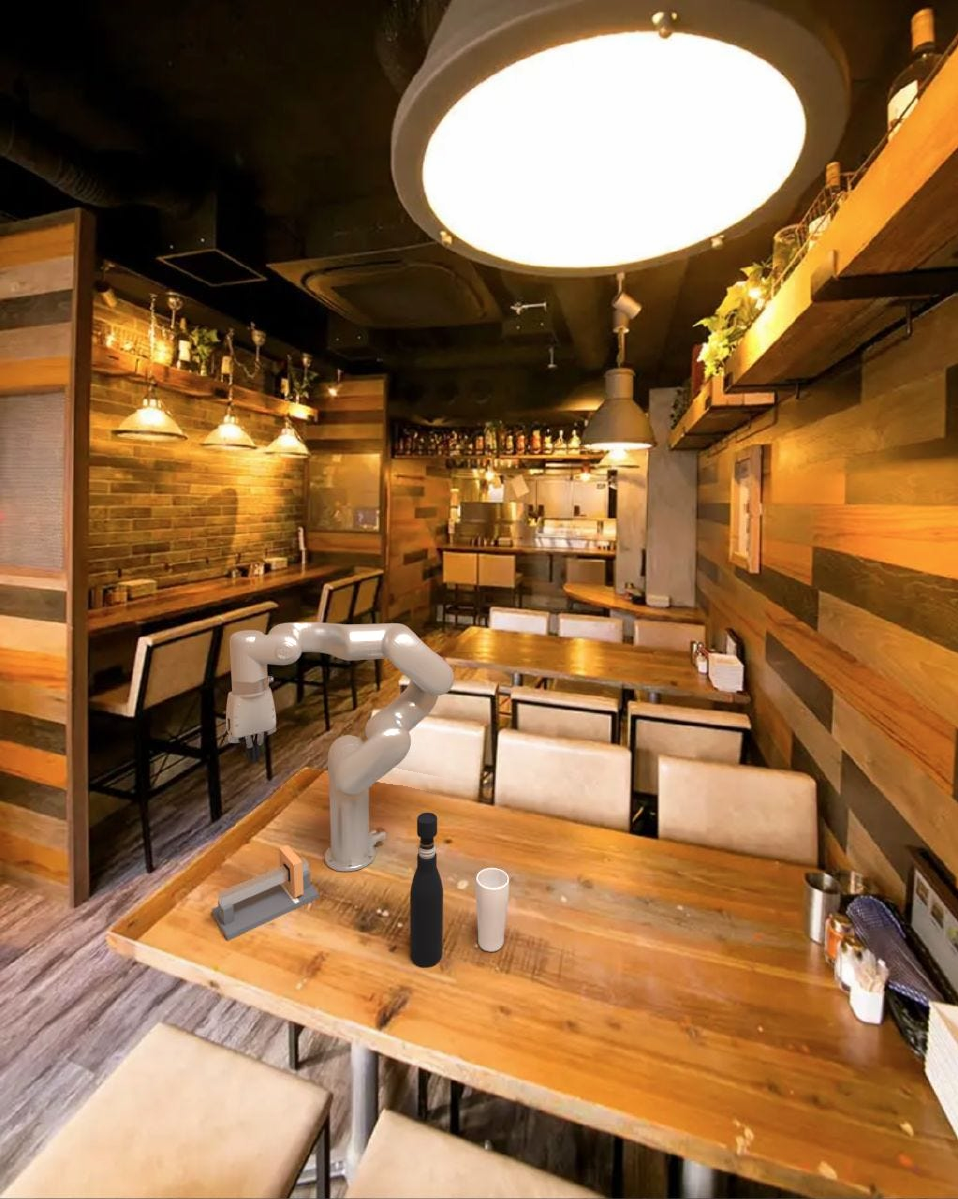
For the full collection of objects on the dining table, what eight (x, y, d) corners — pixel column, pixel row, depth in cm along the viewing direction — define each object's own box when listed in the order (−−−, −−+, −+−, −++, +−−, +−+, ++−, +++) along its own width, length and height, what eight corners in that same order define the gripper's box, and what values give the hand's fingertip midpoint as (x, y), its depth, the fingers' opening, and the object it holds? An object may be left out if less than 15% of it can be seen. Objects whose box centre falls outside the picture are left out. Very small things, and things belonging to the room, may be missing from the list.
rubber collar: (288, 875, 135) (287, 844, 133) (303, 893, 129) (302, 861, 127) (280, 879, 133) (279, 848, 132) (295, 897, 128) (293, 865, 126)
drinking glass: (511, 936, 120) (513, 871, 118) (501, 960, 114) (503, 892, 111) (480, 927, 123) (482, 864, 120) (469, 950, 116) (471, 884, 114)
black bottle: (437, 970, 111) (438, 829, 106) (405, 964, 113) (405, 824, 107) (445, 945, 117) (447, 811, 112) (415, 940, 119) (416, 806, 113)
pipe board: (299, 875, 138) (299, 857, 137) (318, 897, 131) (318, 879, 130) (212, 913, 125) (210, 894, 124) (227, 940, 117) (226, 920, 117)
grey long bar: (303, 866, 134) (303, 856, 134) (308, 872, 132) (308, 861, 132) (218, 902, 122) (217, 891, 121) (222, 909, 120) (222, 898, 119)
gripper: (275, 675, 138) (278, 746, 141) (209, 687, 128) (214, 764, 131) (288, 683, 132) (291, 757, 135) (221, 696, 122) (226, 776, 126)
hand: (253, 760), depth 133 cm, fingers closed
